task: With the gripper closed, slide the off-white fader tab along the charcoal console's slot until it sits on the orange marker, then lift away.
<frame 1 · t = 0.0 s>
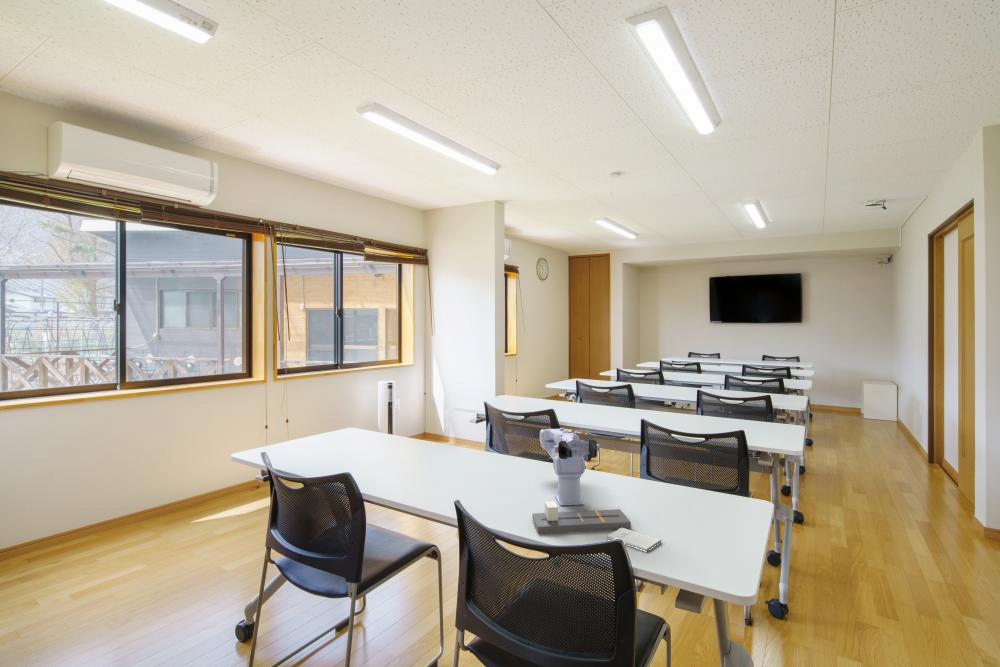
hand: (583, 453, 155), 22 cm above the table, tool horizontal, fingers open, 7 cm apart
fader tab: (551, 510, 155), point 5 cm above the table, slide at -9.0 cm
external hard drive: (633, 543, 144), on the table
console: (580, 524, 156), on the table
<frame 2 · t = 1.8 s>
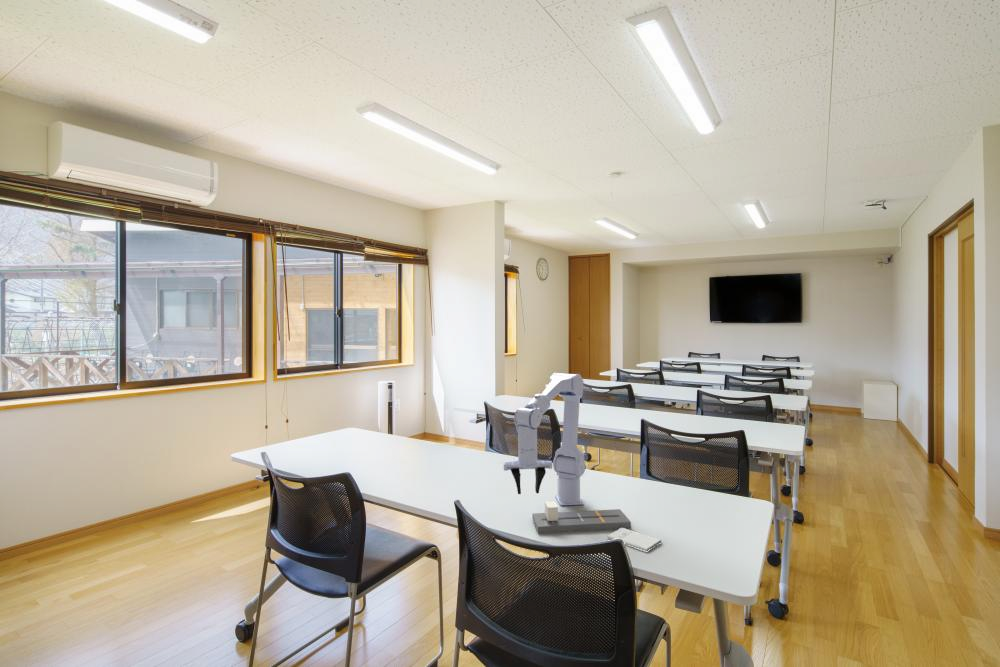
hand: (528, 492, 154), 10 cm above the table, tool pointing down, fingers open, 5 cm apart
nothing on the table moved.
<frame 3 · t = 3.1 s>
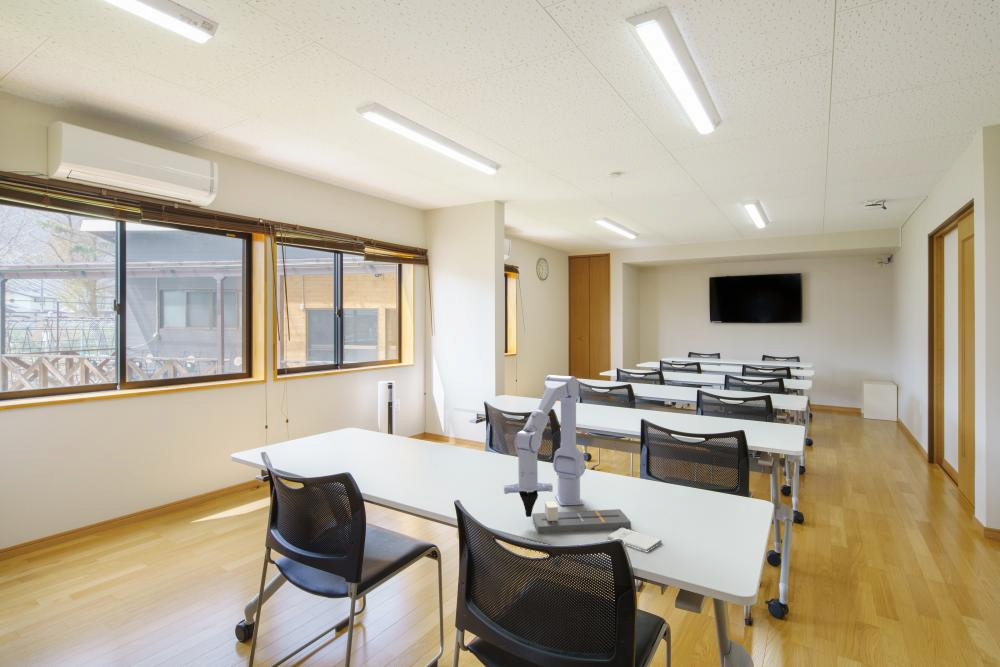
hand: (528, 515, 154), 3 cm above the table, tool pointing down, fingers closed
nothing on the table moved.
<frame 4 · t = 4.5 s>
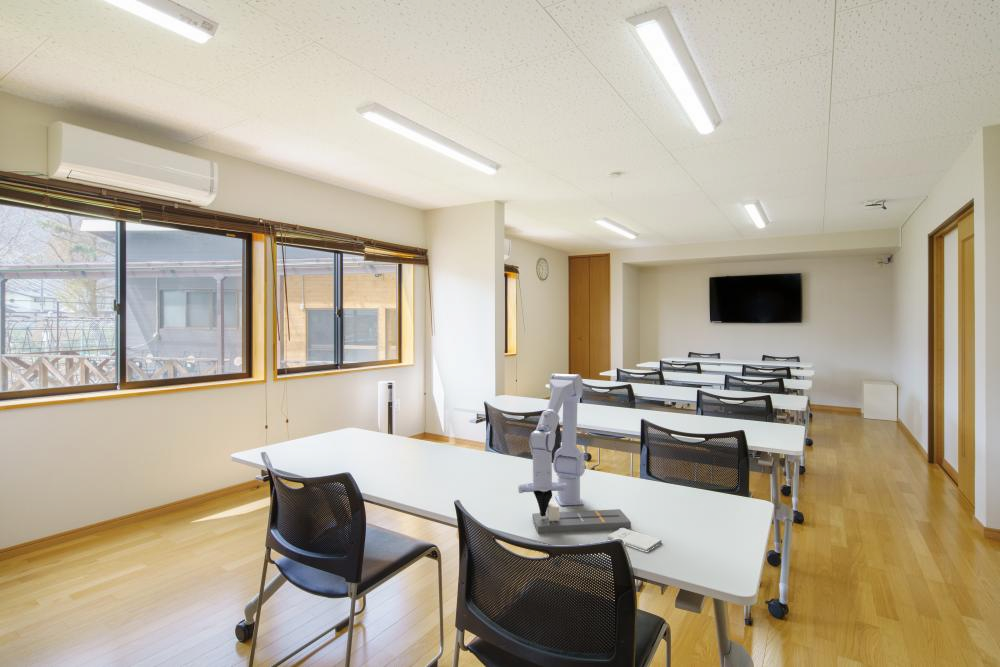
hand: (542, 514, 155), 3 cm above the table, tool pointing down, fingers closed
fader tab: (552, 510, 155), point 5 cm above the table, slide at -8.6 cm, touching gripper
everything else where it was.
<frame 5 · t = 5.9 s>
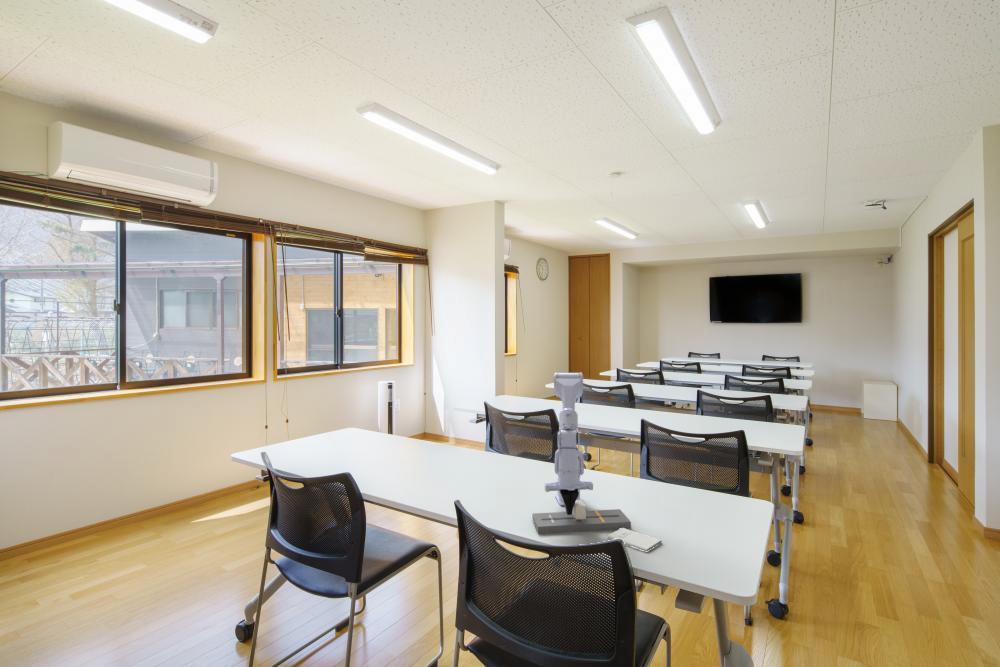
hand: (569, 513, 155), 3 cm above the table, tool pointing down, fingers closed
fader tab: (578, 509, 156), point 4 cm above the table, slide at -0.5 cm, touching gripper
everything else where it was.
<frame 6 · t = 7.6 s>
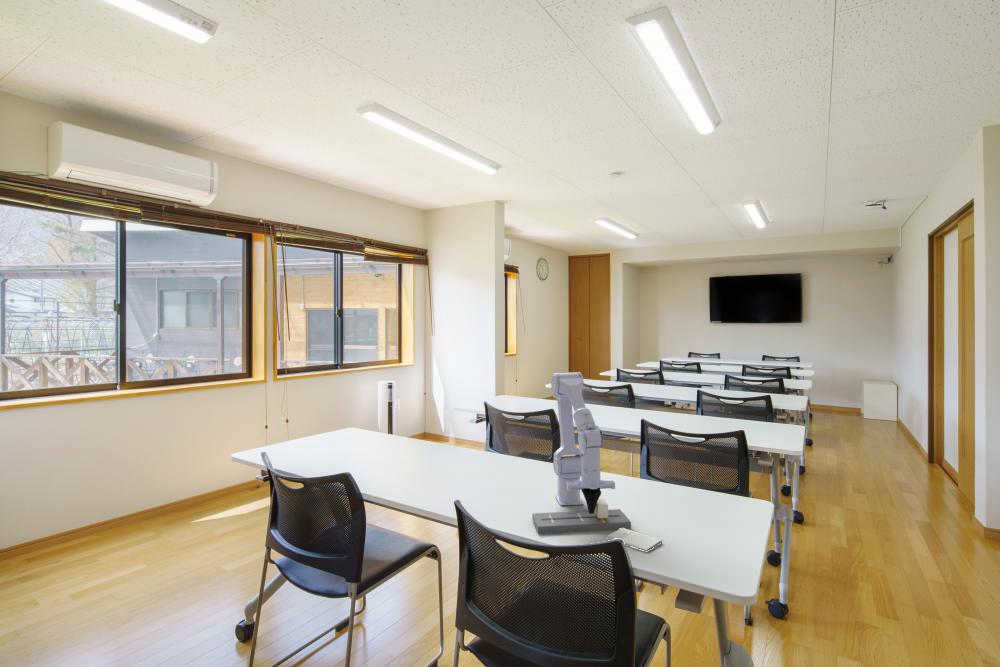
hand: (591, 512, 156), 3 cm above the table, tool pointing down, fingers closed
fader tab: (600, 508, 156), point 5 cm above the table, slide at 6.3 cm, touching gripper
everything else where it was.
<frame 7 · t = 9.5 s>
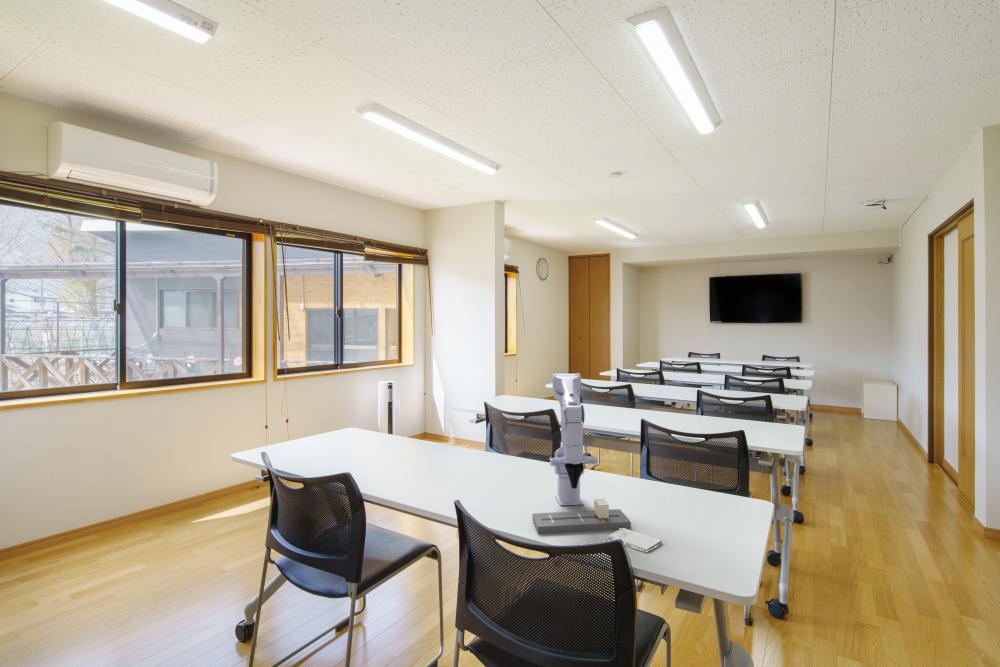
hand: (573, 487, 158), 10 cm above the table, tool pointing down, fingers closed
fader tab: (601, 508, 156), point 5 cm above the table, slide at 6.5 cm
everything else where it was.
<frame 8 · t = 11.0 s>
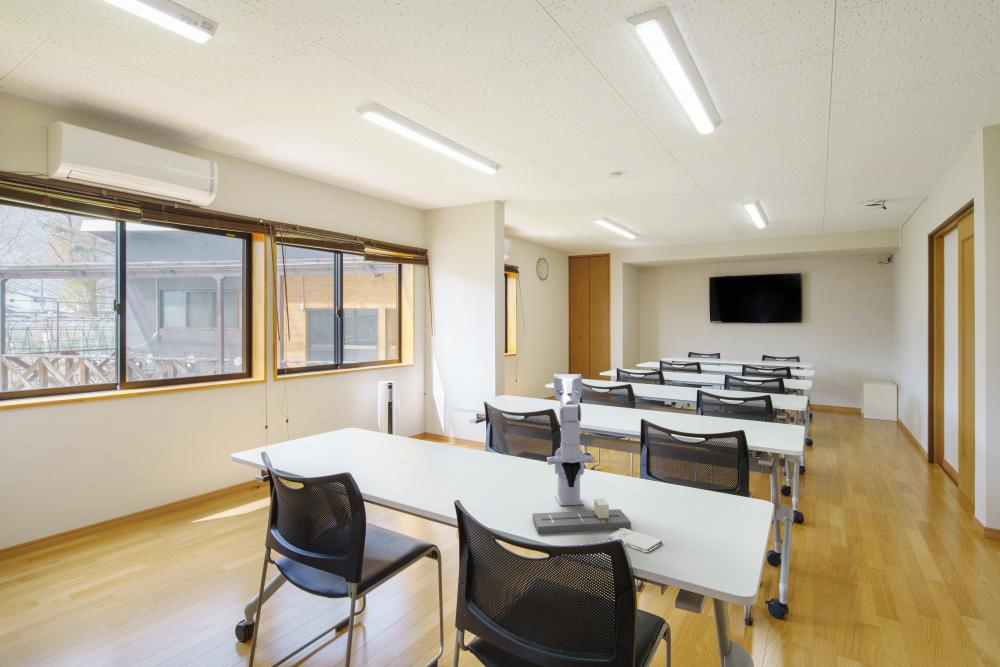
hand: (570, 486, 159), 10 cm above the table, tool pointing down, fingers closed
nothing on the table moved.
at the end: fader tab slide at 6.5 cm; the gripper is holding nothing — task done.
